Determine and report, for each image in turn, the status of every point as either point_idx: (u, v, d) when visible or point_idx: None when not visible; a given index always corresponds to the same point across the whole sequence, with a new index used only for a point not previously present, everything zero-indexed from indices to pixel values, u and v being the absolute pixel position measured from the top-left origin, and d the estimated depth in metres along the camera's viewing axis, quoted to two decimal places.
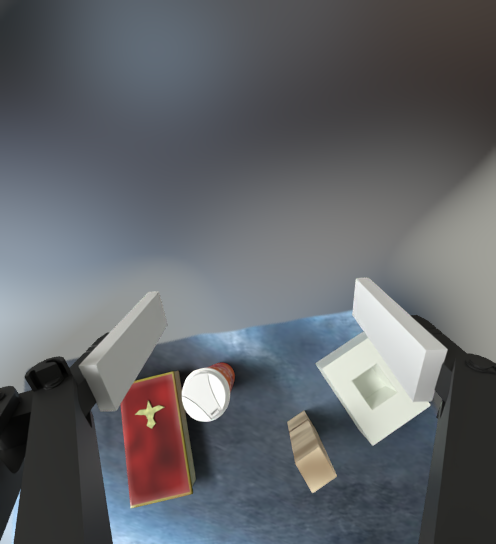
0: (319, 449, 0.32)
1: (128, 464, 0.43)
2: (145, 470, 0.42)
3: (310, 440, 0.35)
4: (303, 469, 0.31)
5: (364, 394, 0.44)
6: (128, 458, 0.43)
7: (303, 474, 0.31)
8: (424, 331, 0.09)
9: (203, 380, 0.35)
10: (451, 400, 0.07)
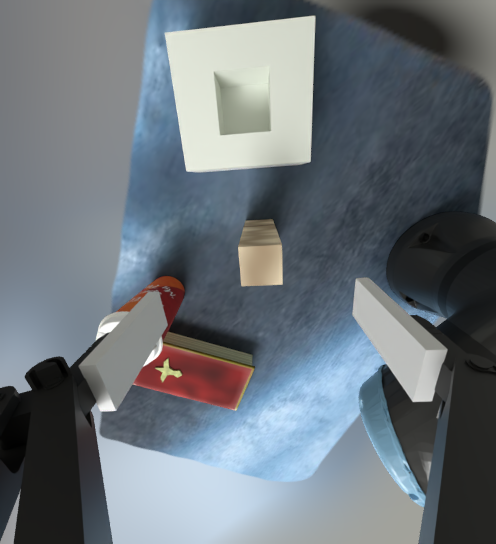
0: (241, 248, 0.21)
1: (202, 400, 0.44)
2: (214, 391, 0.43)
3: None
4: (252, 281, 0.22)
5: (262, 127, 0.28)
6: (198, 399, 0.44)
7: (258, 283, 0.22)
8: (424, 331, 0.09)
9: None
10: (451, 400, 0.07)
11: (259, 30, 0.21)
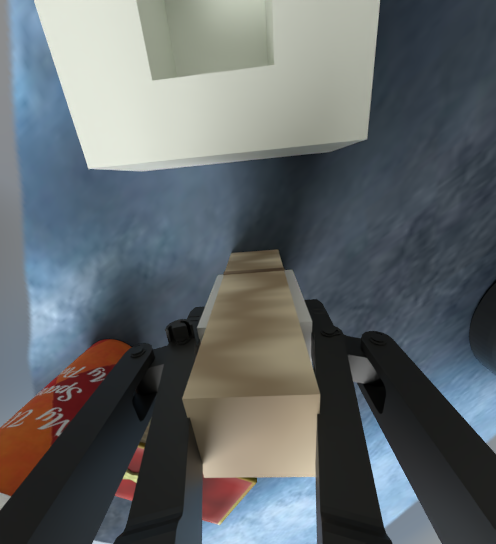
0: (193, 401, 0.07)
1: None
2: None
3: None
4: (234, 469, 0.08)
5: None
6: None
7: (249, 473, 0.08)
8: (305, 309, 0.12)
9: None
10: (316, 368, 0.08)
11: None
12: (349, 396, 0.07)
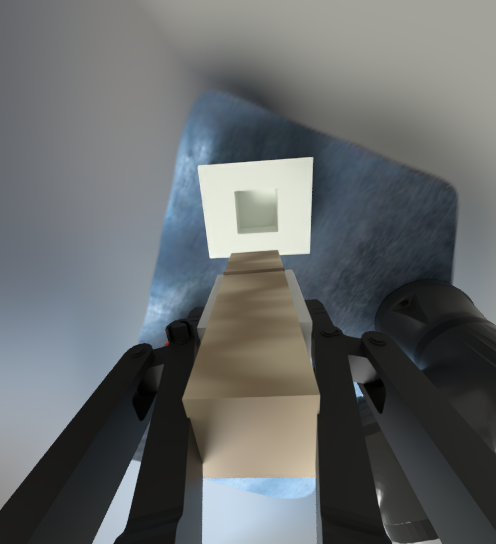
0: (193, 402, 0.07)
1: None
2: None
3: None
4: (233, 469, 0.08)
5: (270, 218, 0.35)
6: None
7: (249, 474, 0.08)
8: (305, 309, 0.12)
9: None
10: (316, 368, 0.08)
11: (270, 165, 0.28)
12: (349, 396, 0.07)
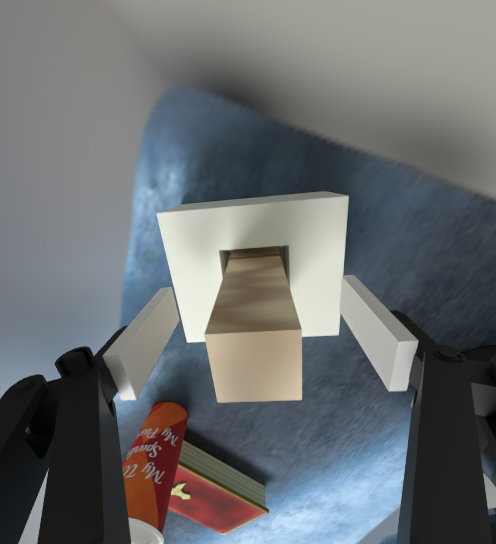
0: (212, 337, 0.10)
1: (195, 520, 0.40)
2: (213, 517, 0.39)
3: None
4: (240, 394, 0.11)
5: None
6: (191, 517, 0.39)
7: (251, 398, 0.11)
8: (399, 324, 0.10)
9: None
10: (422, 390, 0.07)
11: (276, 210, 0.17)
12: (467, 436, 0.06)
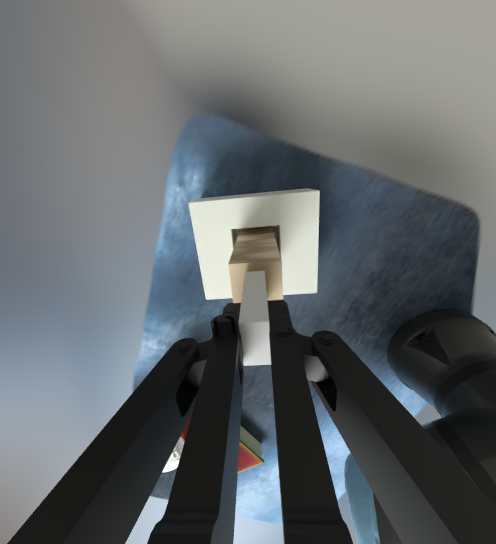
0: (232, 265, 0.17)
1: None
2: None
3: None
4: None
5: None
6: None
7: None
8: (265, 309, 0.12)
9: None
10: (272, 368, 0.09)
11: (271, 200, 0.24)
12: (304, 391, 0.07)
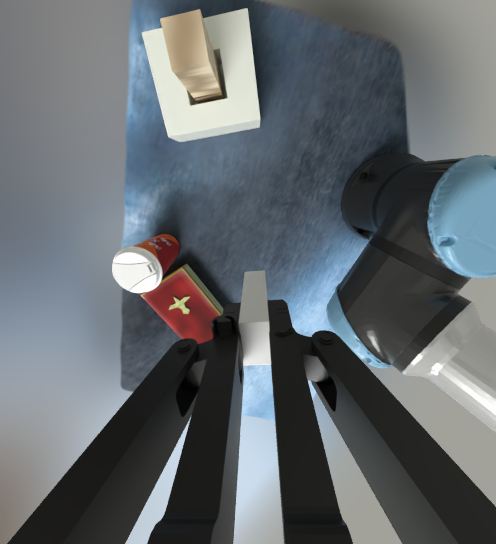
0: (163, 20, 0.22)
1: None
2: (199, 338, 0.52)
3: None
4: (181, 61, 0.23)
5: None
6: (182, 336, 0.52)
7: (186, 64, 0.24)
8: (265, 309, 0.12)
9: (118, 268, 0.34)
10: (272, 368, 0.09)
11: (209, 23, 0.29)
12: (304, 391, 0.07)
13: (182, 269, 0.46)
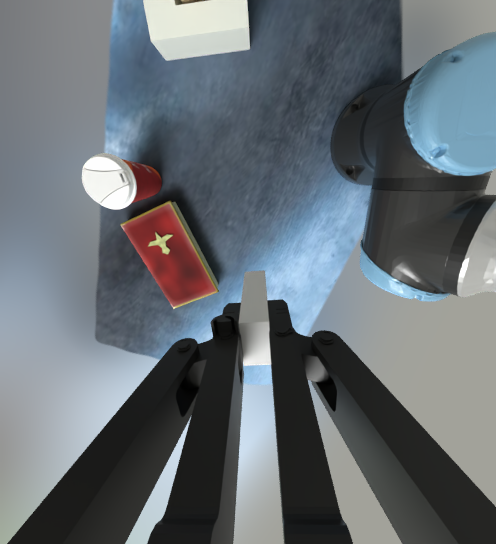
0: None
1: (159, 283, 0.50)
2: (175, 284, 0.50)
3: None
4: None
5: None
6: (157, 279, 0.50)
7: None
8: (265, 309, 0.12)
9: (89, 175, 0.32)
10: (272, 368, 0.09)
11: None
12: (303, 391, 0.07)
13: (169, 203, 0.44)
